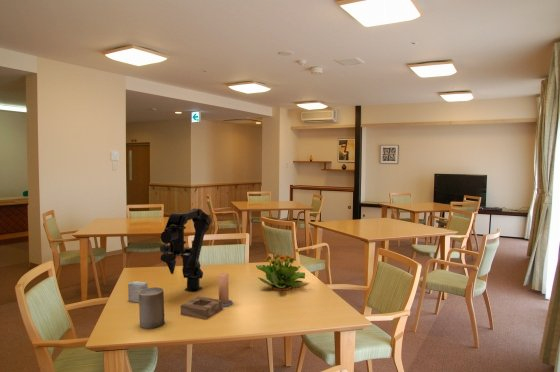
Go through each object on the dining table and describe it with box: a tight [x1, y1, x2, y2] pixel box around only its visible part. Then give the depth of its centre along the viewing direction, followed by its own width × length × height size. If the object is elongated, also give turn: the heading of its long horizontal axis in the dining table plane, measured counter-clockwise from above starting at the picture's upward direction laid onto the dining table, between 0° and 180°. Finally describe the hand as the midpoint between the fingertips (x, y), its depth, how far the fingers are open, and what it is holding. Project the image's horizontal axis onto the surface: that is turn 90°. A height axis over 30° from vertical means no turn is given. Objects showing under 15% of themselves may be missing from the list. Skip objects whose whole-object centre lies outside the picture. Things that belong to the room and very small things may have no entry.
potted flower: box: [256, 253, 306, 292], centre depth 206 cm, size 25×24×18 cm
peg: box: [218, 272, 230, 304], centre depth 184 cm, size 4×4×13 cm
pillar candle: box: [138, 287, 166, 330], centre depth 161 cm, size 10×10×15 cm
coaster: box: [223, 299, 233, 308], centre depth 184 cm, size 8×8×1 cm
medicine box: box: [127, 280, 149, 303], centre depth 188 cm, size 8×4×9 cm, turn 74°
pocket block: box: [180, 295, 224, 320], centre depth 175 cm, size 13×13×4 cm
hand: (178, 271), depth 192 cm, fingers open, 9 cm apart
